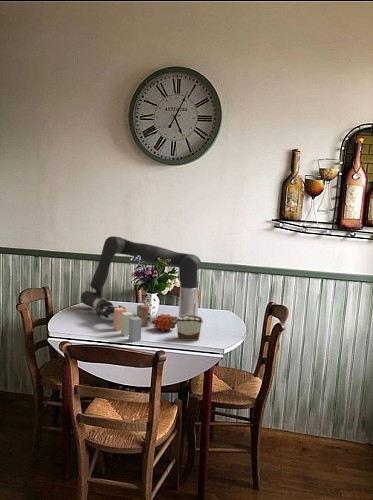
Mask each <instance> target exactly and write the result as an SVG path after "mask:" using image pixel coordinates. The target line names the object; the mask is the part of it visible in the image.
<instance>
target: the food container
mask: <svg viewBox="0 0 373 500" xmlns="http://www.w3.org/2000/svg"><path fill="white" fill-rule="evenodd" d="M175 320H176V322H177V323H176V328H177V329H176V331H177V340H178V339H189V340H188V341H191V340H190V339H193V340H192V341H200V335H201V329H202V324H204V321H203V318H202V317H201V316H198V315H197V316H195V315H180V316H179V315H178V316H177V317H176V319H175ZM194 339H195V340H194Z"/></svg>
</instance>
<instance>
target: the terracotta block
mask: <svg viewBox="0 0 373 500" xmlns="http://www.w3.org/2000/svg"><path fill="white" fill-rule="evenodd" d="M122 307H123V306H122ZM122 307H120V308H114V314H113V330H115V329H116V330H117V331H116V330H115V331H116V332H121V331H120V330H121V313H124V312H127V311H126V309H124V308H125V307H124V308H122Z"/></svg>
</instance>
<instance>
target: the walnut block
mask: <svg viewBox="0 0 373 500" xmlns="http://www.w3.org/2000/svg"><path fill="white" fill-rule="evenodd" d="M136 317H139V318H141V329H142V328H148V327H149V306H148V305H146V304H139V305H138V304H137V306H136Z"/></svg>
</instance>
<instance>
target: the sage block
mask: <svg viewBox="0 0 373 500" xmlns="http://www.w3.org/2000/svg"><path fill="white" fill-rule="evenodd" d="M130 317H134V313H132V312H130V311H126V312H124V313H121V331H120V335H121V336H123V335H124V336H126V337H129V336H128V335H129V318H130ZM124 336H123V337H124Z"/></svg>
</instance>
